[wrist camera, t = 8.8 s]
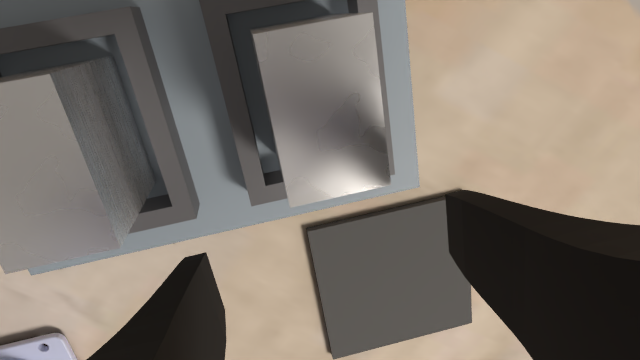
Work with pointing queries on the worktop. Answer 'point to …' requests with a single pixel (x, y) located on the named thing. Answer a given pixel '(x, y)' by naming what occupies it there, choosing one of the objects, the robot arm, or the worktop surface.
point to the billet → (68, 164)
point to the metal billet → (324, 105)
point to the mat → (388, 277)
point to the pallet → (205, 101)
